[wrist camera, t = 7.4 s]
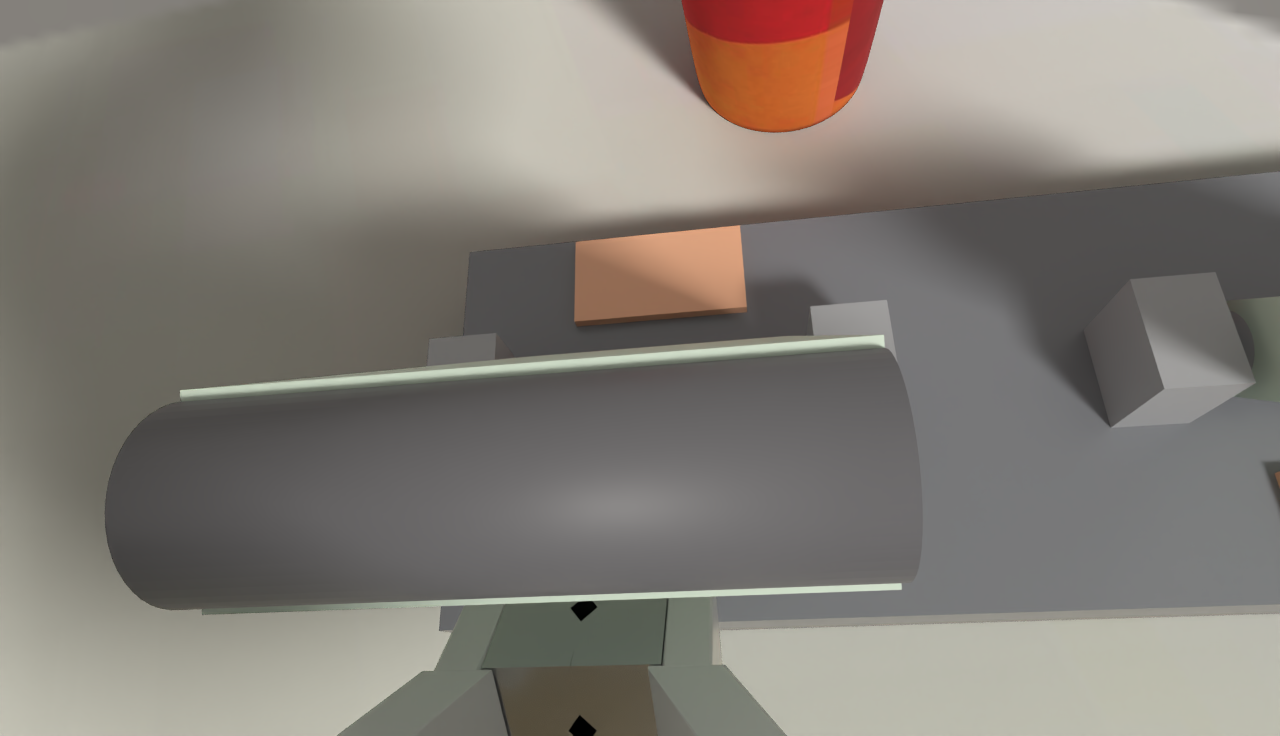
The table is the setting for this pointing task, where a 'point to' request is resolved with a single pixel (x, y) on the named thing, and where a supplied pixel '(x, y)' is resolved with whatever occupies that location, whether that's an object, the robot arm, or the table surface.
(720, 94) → the paper cup
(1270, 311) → the lever
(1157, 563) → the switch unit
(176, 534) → the lever
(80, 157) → the table surface
